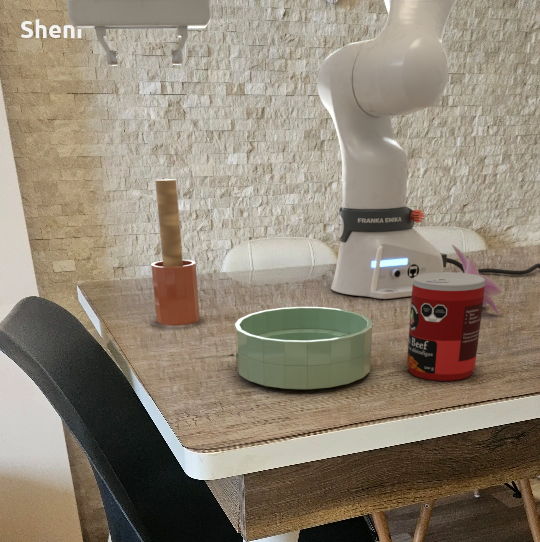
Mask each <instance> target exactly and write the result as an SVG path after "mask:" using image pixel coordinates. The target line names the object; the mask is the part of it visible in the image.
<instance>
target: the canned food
mask: <svg viewBox="0 0 540 542" xmlns="http://www.w3.org/2000/svg"><path fill="white" fill-rule="evenodd" d="M484 289H485V279H484V278H483V277H481V276H478V275H474V274H468V273H458V272H453V271H444V272H435V273H426V274H421V275H418V276H416V277H414V280H413V286H412V296H410V299H411V300H410V313H409V327H408V328H409V329H408V343H407V357H406V365H407V369H408V372H409V373H410V374H411V375H413V376H415V377H417V378H421V379H423V380H429V381H436V382H437V381H438V382H453V381H460V380H464V379H467V378H469V377H471V375H472V374H473V372H474V370H475V368H476V362H477V353H478V346H479V338H480V330H481V324H482V323H481V322H482V314H483V307H484V306H483V299H484Z"/></svg>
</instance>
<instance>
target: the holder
mask: <svg viewBox="0 0 540 542" xmlns="http://www.w3.org/2000/svg"><path fill="white" fill-rule="evenodd" d="M150 267H151V277H152V285H153V286H152V287H153V296H154V306H155V307H154V308H155V315H156V323H158V324H160V325H162V326H163V325H164V326H185V325H190V324H191V325H192V324H195V323H197V322H199V321H200V319H201V317H200V304H199V303H200V302H199V292H198V278H197V277H198V276H197V265H196V261H194V260H189V259H183V266H177V267H163V260H159V261H155V262H152V263H151V264H150Z"/></svg>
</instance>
